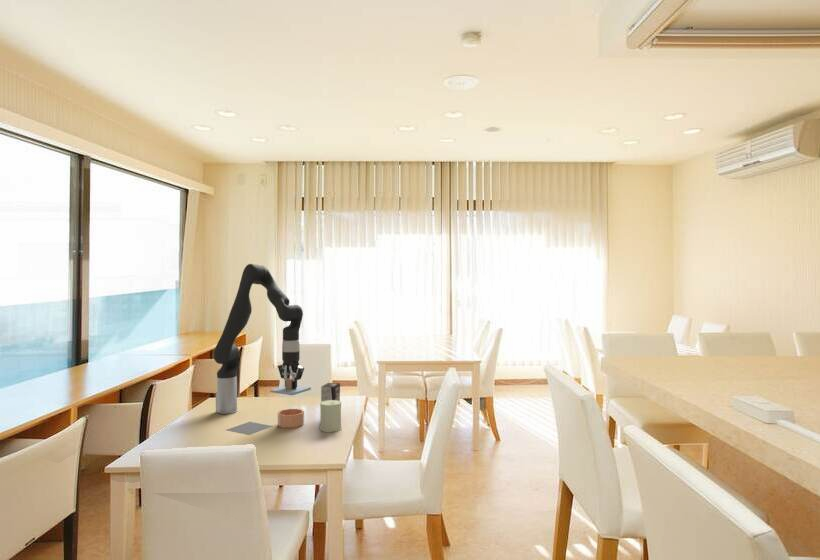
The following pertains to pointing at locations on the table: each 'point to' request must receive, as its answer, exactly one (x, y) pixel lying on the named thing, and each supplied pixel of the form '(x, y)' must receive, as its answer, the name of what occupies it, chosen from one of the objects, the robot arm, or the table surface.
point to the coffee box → (330, 392)
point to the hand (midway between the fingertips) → (290, 388)
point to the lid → (290, 388)
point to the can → (330, 415)
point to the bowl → (290, 418)
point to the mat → (249, 428)
